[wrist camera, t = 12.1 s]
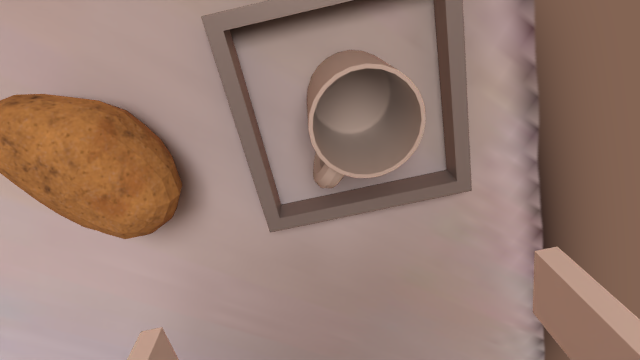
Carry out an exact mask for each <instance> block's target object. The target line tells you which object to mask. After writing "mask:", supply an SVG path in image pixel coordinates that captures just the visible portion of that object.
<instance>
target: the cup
mask: <svg viewBox="0 0 640 360" xmlns="http://www.w3.org/2000/svg"><path fill="white" fill-rule="evenodd" d="M307 112H308V130H309V134H310V139H311V143H312V145H313V147H314V149H315V151H316V155H315V159H314V169H313V177H314V180H315V182H316V183H317V184H318V185H319V186H320V187H321V188H333V187H334V186H336V185H337V184H338V183H339V181H340V180H341V179H342V178H343V176H344V175H346V176H350V177H353V178H372V177H377V176H381V175H384V174H386V173H389V172H391V171H393V170H395V169H397V168H398V167H399V166H400V165H402V164H403V163H404V162H406V161H407V160H408V159H409V157H410V156H411V155H412V154H413V152H414V151H415V150H416V149H417V147H418V145H419V142H420V140H421V138H422V136H423V132H424V127H425V122H426V116H425V105H424V102H423V100H422V97H421V94H420V92H419V90H418V89H417V87H416V86H415V85H414V84H413V82H412V81H411V80H410V79H409V78H408V77H407V76H405V75H404V74H403V73H401V72H400V71H398V70H397V69H395V68H394V67H392V66H391V65H389V64H387V63H386V62H384V61H383V60H381V59H379V58H378V57H376V56H375V55H372V54H369V53H367V52H364V51H356V50H347V51H343V52H338V53H336V54H334V55H332V56H330V57H328V58H326V59H325V60H324V61H323V62H322V63H321V64H320V65H319V66H318V67H317V69H316V70H315V72H314V73H313V75H312V77H311V80H310V83H309V86H308V91H307Z"/></svg>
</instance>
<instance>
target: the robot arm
mask: <svg viewBox="0 0 640 360" xmlns="http://www.w3.org/2000/svg"><path fill="white" fill-rule="evenodd" d="M533 313H534V314H535V316H536V317H537V318H538V319H539V321H540V322H541V323H542V324H543V326H544V327H545V328H546V329H547V331H548V332H549V333H550V334H551V336H552V337H553V338H554V340H555V341H556V342H557V343H558V345H559V346H560V347H561V348H562V349H563V351H564V352H565V353H566V355H567V356H568V357H569V358H570V360H640V319H638V318H637V317H636V316H635V315H634V314H633V313H632V312H631V311H629V310H628V309H627V308H626V307H625V306H624V305H622V304H621V303H620V302H619V301H618V300H617V299H616V298H615V297H614V296H612V295H611V294H610V293H609V292H608V291H607V290H605V289H604V288H603V287H602V286H601V285H600V284H599V283H598V282H597V281H595V280H594V279H593V278H592V277H591V276H590V275H589V274H587V273H586V272H585V271H584V270H583V269H582V268H581V267H580V266H579V265H577V264H576V263H575V262H574V261H573V260H572V259H570V257H568V256H567V255H566V254H565V253H564V252H562V250H560V249H559V248H558V247H553V248H549V249H543V250H538V251H535V257H534V289H533ZM127 360H179V359H178V357H177V355H176V353H175V351H174V350H173V348H172V346H171V344H170V342H169V340H168V338H167V336H166V334H165V332H164V330H163V328H162V327H161V328H156V329H151V330H147V331H142V332H141V333H140V335H139V337H138V339H137V341H136V343H135V345H134V347H133V349H132V351H131V353H130V355H129V357H128V359H127Z"/></svg>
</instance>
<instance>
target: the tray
mask: <svg viewBox="0 0 640 360" xmlns="http://www.w3.org/2000/svg"><path fill="white" fill-rule="evenodd" d="M348 1H352V0H268V1H264V2H260V3H256V4H251V5H247V6H243V7H239V8H235V9H230V10H226V11H222V12H218V13H214V14H209V15H205V16H201V18H202V21H203V24H204V27H205V31H206V34H207V37H208V40H209V43H210V46H211V49H212V52H213V56H214V59H215V62H216V65H217V68H218V71H219V74H220V78H221V81H222V84H223V87H224V90H225V93H226V96H227V99H228V103H229V106H230V109H231V112H232V115H233V118H234V121H235V124H236V128H237V131H238V134H239V137H240V140H241V143H242V146H243V149H244V153H245V156H246V159H247V162H248V165H249V168H250V171H251V174H252V178H253V181H254V184H255V187H256V190H257V193H258V196H259V199H260V203H261V206H262V209H263V212H264V215H265V218H266V221H267V224H268V228H269V231H270V232H275V231H279V230H284V229H289V228H294V227H299V226H304V225H308V224H313V223H318V222H323V221H328V220H333V219H337V218H342V217H347V216H352V215H357V214H361V213H366V212H371V211H376V210H381V209H386V208H390V207H395V206H400V205H405V204H410V203H415V202H419V201H424V200H429V199H434V198H439V197H443V196H448V195H453V194H458V193H463V192H468V191H472V188H471V167H470V145H469V124H468V102H467V81H466V60H465V38H464V17H463V0H434V9H435V23H436V36H437V49H438V62H439V75H440V88H441V101H442V114H443V127H444V140H445V154H446V167H447V170H444V171H439V172H434V173H430V174H425V175H420V176H415V177H411V178H406V179H401V180H396V181H392V182H387V183H382V184H377V185H373V186H368V187H363V188H359V189H354V190H349V191H344V192H340V193H335V194H330V195H325V196H321V197H316V198H311V199H306V200H302V201H297V202H292V203H287V204H283V205H281V202H280V199H279V196H278V192H277V189H276V185H275V182H274V179H273V175H272V172H271V168H270V165H269V162H268V158H267V155H266V151H265V148H264V145H263V141H262V138H261V134H260V131H259V128H258V124H257V121H256V117H255V114H254V110H253V107H252V104H251V100H250V97H249V93H248V90H247V87H246V83H245V80H244V76H243V73H242V70H241V66H240V63H239V59H238V56H237V53H236V49H235V46H234V42H233V39H232V36H231V32H230V29H233V28H237V27H242V26H246V25H250V24H254V23H259V22H263V21H267V20H271V19H276V18H280V17H284V16H288V15H293V14H297V13H301V12H305V11H310V10H314V9H318V8H322V7H326V6H331V5H335V4H339V3H343V2H348Z"/></svg>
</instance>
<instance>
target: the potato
mask: <svg viewBox="0 0 640 360" xmlns="http://www.w3.org/2000/svg"><path fill="white" fill-rule="evenodd" d="M0 173H1V174H2V175H4V176H5V177H6V178H8V179H9V180H10V181H11V182H13V183H14V184H15V185H17V186H18V187H19V188H21V189H22V190H24V191H25V192H26V193H28V194H29V195H30V196H32V197H33V198H35V199H36V200H37V201H39V202H40V203H42V204H44V205H45V206H47V207H48V208H50V209H51V210H53V211H55V212H56V213H58V214H59V215H61V216H63V217H65V218H67V219H69V220H71V221H73V222H75V223H77V224H79V225H81V226H83V227H86V228H90V229H94V230H97V231H100V232H103V233H106V234H109V235H113V236H116V237H120V238H123V239H128V238H133V237H138V236H143V235H147V234H150V233H153V232H154V231H156V230H157V229H158V228H160V227H161V226H162V225H163V224H165V223H166V222H167V221H169V220H170V219H171V218H172V217H173V215H174V213H175V211H176V209H177V205H178V201H179V196H180V192H181V188H182V182H181V180H180V177H179V174H178V171H177V169H176V166H175V163H174V160H173V158H172V155H171V154H170V152H169V151H168V150H167V148H166V147H165V145H164V144H163V142H162V141H161V139H160V138H159V137H157V136H156V135H155V134H154V133H153V132H152V131H151V130H150V129H149V128H148V127H147V126H145V125H144V124H143V123H142V122H141V121H139V120H138V119H137V118H135V117H134V116H133V115H132V114H130V113H129V112H128V111H126V110H123V109H120V108H118V107H115V106H112V105H109V104H106V103H103V102H101V101H97V100H89V99H81V98H73V97H64V96H56V95H47V94H28V95H13V96H11V97H8V98H6V99H3V100H1V101H0Z"/></svg>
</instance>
